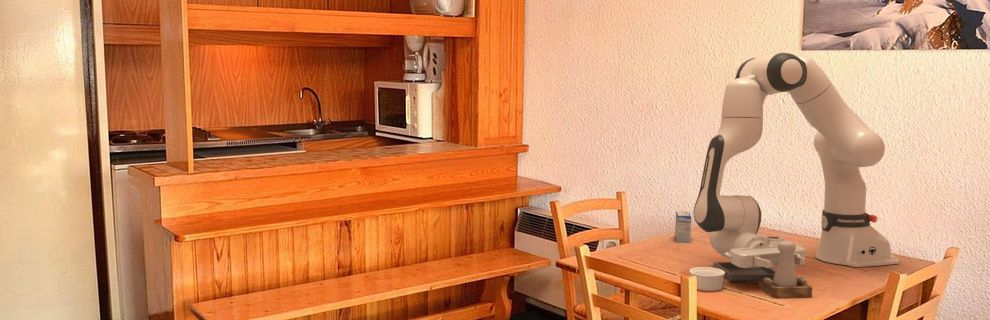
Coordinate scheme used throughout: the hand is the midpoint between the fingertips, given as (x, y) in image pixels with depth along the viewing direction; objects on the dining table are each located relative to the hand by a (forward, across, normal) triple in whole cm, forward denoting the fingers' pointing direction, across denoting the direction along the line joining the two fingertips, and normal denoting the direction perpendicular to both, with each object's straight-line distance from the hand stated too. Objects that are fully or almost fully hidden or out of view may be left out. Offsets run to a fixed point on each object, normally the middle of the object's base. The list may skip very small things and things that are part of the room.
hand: (786, 263), depth 218 cm
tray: (-17, 0, +8) cm, 18 cm away
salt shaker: (0, 0, +8) cm, 8 cm away
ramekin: (-11, -16, +8) cm, 21 cm away
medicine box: (-60, +6, +8) cm, 61 cm away
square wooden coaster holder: (0, 0, +8) cm, 8 cm away
